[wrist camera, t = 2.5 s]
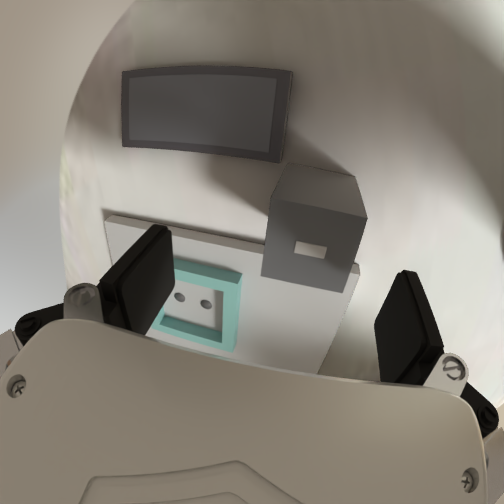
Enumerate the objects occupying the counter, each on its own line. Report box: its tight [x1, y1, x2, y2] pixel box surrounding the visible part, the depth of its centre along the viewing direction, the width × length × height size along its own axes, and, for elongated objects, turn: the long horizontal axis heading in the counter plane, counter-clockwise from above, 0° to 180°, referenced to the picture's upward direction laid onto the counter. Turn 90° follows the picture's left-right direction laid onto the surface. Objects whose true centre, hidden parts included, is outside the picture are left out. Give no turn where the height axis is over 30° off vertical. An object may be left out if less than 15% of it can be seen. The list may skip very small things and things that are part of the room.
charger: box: [260, 163, 368, 293], centre depth 15 cm, size 4×4×6 cm
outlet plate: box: [104, 215, 360, 374], centre depth 24 cm, size 20×14×2 cm
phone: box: [121, 66, 293, 163], centre depth 16 cm, size 11×6×1 cm, turn 85°
